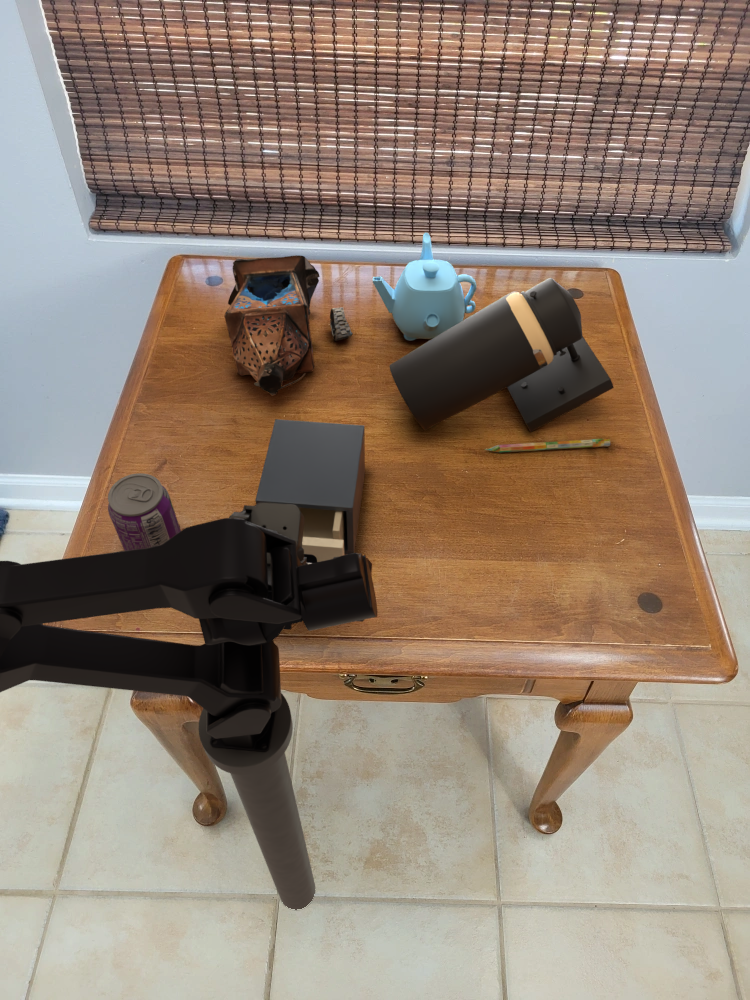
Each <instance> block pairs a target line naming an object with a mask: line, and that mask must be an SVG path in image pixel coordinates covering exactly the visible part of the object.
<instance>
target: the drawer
mask: <svg viewBox="0 0 750 1000" xmlns="http://www.w3.org/2000/svg"><path fill="white" fill-rule="evenodd" d="M299 509H300V511H301V513H302V515H303V517H304V520H305V523H304V530H303V541H302V548H303V549H304V554H312V555H314V556H315V557H316V558H317V562H321V561H325V560H330V559H333V558H334V557H340V556H343V555H345V554H344V542H345V535H346V528H347V518H346V511H335V510H323V509H310V508H299Z"/></svg>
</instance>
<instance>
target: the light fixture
mask: <svg viewBox="0 0 750 1000" xmlns="http://www.w3.org/2000/svg"><path fill="white" fill-rule="evenodd" d="M388 367H389V372H390V374H391V377H392V380H393V382H394V384H395V386H396V388H397V390H398V393H399V394H400V396H401V398H402V401H404V403H405V405H406V407H407V409H408V410H409V411H410V413H411V415H412V417H413V418H414V419H415V421H416V422H417V423H418V425H419V426H420V427H421V428H422V429H423V430H424V431H427V430H429V429H431V428H433V427H435V426H437V425H438V424H440V423H443V422H444V421H446V420H448V419H450V418H452V417H454V416H456V415H458V414H459V413H462V412H464V411H465V410H467V409H469V408H471V407H473V406H475V405H477V404H478V403H481V402H482V401H485V400H486V399H488V398H490V397H492V396H494V395H495V394H497V393H499V392H501V391H503V390H505V389H507V390H508V392H509V395H510V397H511V398H512V400H513V402H514V404H515V405H516V408H517V410H518V411H519V414H520V416H521V417H522V419H523V421H524V424H525V425H526V427H527V428H528V431H529V432H530V433H532V432H534V431H536V430H537V429H539V428H541V427H543V426H545V425H547V424H548V423H549V424H550V423H551V422H552V421H554V420H556V419H558V418H560V417H562V416H564V415H566V414H567V413H570V412H571V411H573V410H575V409H577V408H578V407H580V406H583V405H585V404H586V403H588V402H590V401H593V400H594V399H596V398H597V397H599V396H601V395H603V394H605V393H607V392H609V391H611V390H613V389H614V388H615V387H614V384H613V382H612V378H611V376H610V375H609V374H608V372H607V371H606V369H605V368H604V367H603V365H602V363H601V362H600V360H599V358H598V357H597V355H596V354H595V352H594V351H593V349H592V348H591V347H590V345H589V344H588V342H587V340H586V339H585V337H584V336H583V326H582V314H581V311H580V308H579V306H578V304H577V302H576V300H575V299H574V297H573V295H572V294H571V292H570V291H569V290H568V289H566V288H565V287H564V286H562V285H561V284H560V283H559V282H558V281H556V279H554V278H552V277H548V278H546V279H544V280H543V281H541V282H539V283H538V284H536V285H533V286H532V287H531V288H529V289H527V290H525V291H524V290H522V291H520V292H519V291H511V292H509V293H507V294H505V295H503V296H502V297H500V298H499V299H497V300H495V301H493V302H492V303H489V304H488V305H487V306H485V307H482V308H481V309H479V310H478V311H476V312H475V313H473V314H471V315H470V316H468V317H466V318H464V319H463V321H461V322H459V323H458V324H456V325H454V326H453V327H451V328H449V329H448V330H446V331H444V332H443V333H441V334H439V335H438V336H436V337H434V338H433V339H429V340H428V341H426V342H425V343H423V344H421V345H420V346H418V347H416V348H415V349H413V350H412V351H409V352H408V353H407V354H404V355H403V356H402V357H400V358H398V359H397V360H395V361H394V362H392V363H390V364H389V366H388Z"/></svg>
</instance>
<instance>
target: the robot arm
mask: <svg viewBox="0 0 750 1000" xmlns="http://www.w3.org/2000/svg"><path fill="white" fill-rule="evenodd" d="M304 523H305V520H304V517H303V515H302V513H301V511H300V509H299V508H298V507H297V506H296V505H293V504H278V503H258V504H256V503H255V504H254V505H246V504H244V505H243V507H242V510H241V511H233V512H232V513H231V515H229V516H228V517H225V518H219V519H214V520H211V521H210V520H209V521H207V522H202V523H199V524H194V525H191V526H187V527H185V528H183V529H182V530H181V531H180V532H179V533H178V534H176V535H175V536H173V537H172V538H171V539H169V540H168V541H166V542H165V543H164V544H162V545H158V546H154V547H150V548H143V549H135V550H128V551H124V550H121V551H113V552H106V553H98V554H90V555H83V556H75V557H67V558H61V559H52V560H45V561H44V560H43V561H38V562H29V563H22V564H21V563H19V562H16V561H12V560H0V693H2V692H4V691H7V690H10V689H12V688H14V687H17V686H19V685H22V684H24V683H26V682H28V681H37V682H45V683H47V682H48V683H57V684H65V685H75V686H76V685H77V686H86V687H95V688H96V687H97V688H105V689H114V690H123V691H135V692H143V693H155V694H163V695H174V696H182V697H188V698H189V699H191V700H192V701H194V703H196V704H197V705H199V706H200V707H201V708H202V709H203V708H204V709H205V710H206V711H207V730H206V732H207V733H208V734H209V735H211V739H210V744H211V746H212V747H214V748H223V749H234V750H244V751H255V752H267V751H268V750H269V747H270V742H271V736H272V731H273V726H274V720H275V715H276V710H277V709H279V708H280V706H281V704H282V703H281V693H282V686H281V685H282V684H281V666H280V665H281V664H280V649H279V646H278V645H277V644H276V643H275V639H276V638H278V637H279V635H280V634H281V633H282V632H283V631H284V630H287V631H292V628H293V626H294V625H295V624H299V623H303V624H304V627H305V628H306V630H307V631H309V632H311V631H317V630H322V629H326V628H329V627H331V628H332V627H335V626H340V625H345V624H350V623H354V622H360V623H361V622H362V623H363V622H364V621H365V620H370V619H375V618H377V617H378V615H379V614H378V613H379V612H378V603H377V596H376V590H375V586H374V585H375V584H374V580H373V576H372V575H373V563H372V561H371V560H370V559H369V558H368V557H367V555H366V554H363V553H361V552H360V553H358V552H354V553H351V554H344V555H343V556H340V557H334V558H333V559H330V560H325V561H321V562H317V558H316V557H315V556H314V555H312V554H304V549H303V548H302V541H303V530H304ZM154 609H155V610H157V609H173V610H176V611H177V612H180V613H182V614H185V615H187V616H189V617H191V618H192V619H196V620H197V619H198V621H199V625H200V629H201V630H200V631H201V633H202V637H203V642H204V643H203V644H199V645H197V644H188V643H180V642H174V641H165V640H159V639H152V638H151V639H150V638H145V637H136V636H128V635H120V634H115V633H114V634H113V633H106V632H99V631H91V630H85V629H75V628H68V627H62V626H61V627H60V626H53V625H47V624H51V623H58V622H66V621H71V620H81V619H88V618H96V617H102V616H111V615H117V614H124V613H125V614H126V613H133V612H140V611H148V610H154ZM214 741H217V743H216V744H213V742H214ZM263 746H267V747H266V748H265V749H263V748H262V747H263Z"/></svg>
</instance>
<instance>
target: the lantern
mask: <svg viewBox="0 0 750 1000" xmlns="http://www.w3.org/2000/svg"><path fill="white" fill-rule="evenodd" d="M232 275H233V278H234V282H235V285H234V287H233V289H232V291H231V292H230V295H229V298H228V301H227V304H228V305H229V307H228V308H227V310H226V311H225V313H224V314H223V316H224V317H223V318H224V320H225V323H226V328H227V331H228V337H229V341H230V346H231V348H232V357H233V358H234V362H235V367H236V371H237V372H236V373H237V374H239V375H240V376H241V377H242V376H243V377H244V376H251V377H252V378H253V379H254V380H255V381H256V382H254V383H253V385H254V386H255V387H259V388H260V389H261V390H263V391H265V392H266V393H268V394H269V395H270V396H275V395H278V393H279V391H280V390H282V389H285V388H288V387H290V386H291V385H294V384H296V383H297V382H299V381H301V380H302V379H303V378H304V377H305V376H306V374H307V373H309V372H310V373H311V372H313V371H314V370H315V360H314V351H313V349H314V347H313V343H312V334H311V326H310V315H311V309H310V307H311V301H312V298H313V295H314V293H315V291H316V288H317V286H318V284H319V282H320V280H319V278H320V273H319V271H318V270H317V269H316V268H315V266H314V265H312V263H311V262H310V261H309V259H308V258H306V256H304V255H289V256H288V255H287V256H279V257H278V256H277V257H261V258H260V257H259V258H239V257H238V258H235V260H234V261H233V262H232ZM297 373H302V375H301V376H300V377H299V378H297V379H296V380H294V381H292V382H289V383H287V384H284V385H283V383H284V382H286V381H289V380H292V379H293V378H294V377H295V374H297Z"/></svg>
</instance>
